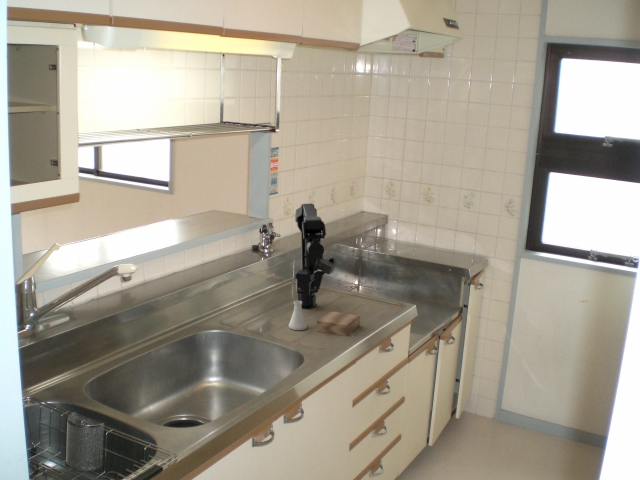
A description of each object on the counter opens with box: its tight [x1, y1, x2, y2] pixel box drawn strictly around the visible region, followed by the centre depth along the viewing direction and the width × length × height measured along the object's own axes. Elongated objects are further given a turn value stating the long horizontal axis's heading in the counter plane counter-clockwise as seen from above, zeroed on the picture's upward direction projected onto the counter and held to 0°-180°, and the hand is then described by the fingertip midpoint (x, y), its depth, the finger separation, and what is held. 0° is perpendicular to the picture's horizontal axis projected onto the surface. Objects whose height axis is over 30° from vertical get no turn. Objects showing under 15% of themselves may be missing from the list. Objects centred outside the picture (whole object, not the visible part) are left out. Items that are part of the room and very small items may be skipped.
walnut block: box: [316, 311, 361, 337], centre depth 259 cm, size 12×12×4 cm
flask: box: [288, 300, 309, 331], centre depth 259 cm, size 7×7×10 cm
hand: (312, 292), depth 260 cm, fingers open, 9 cm apart
